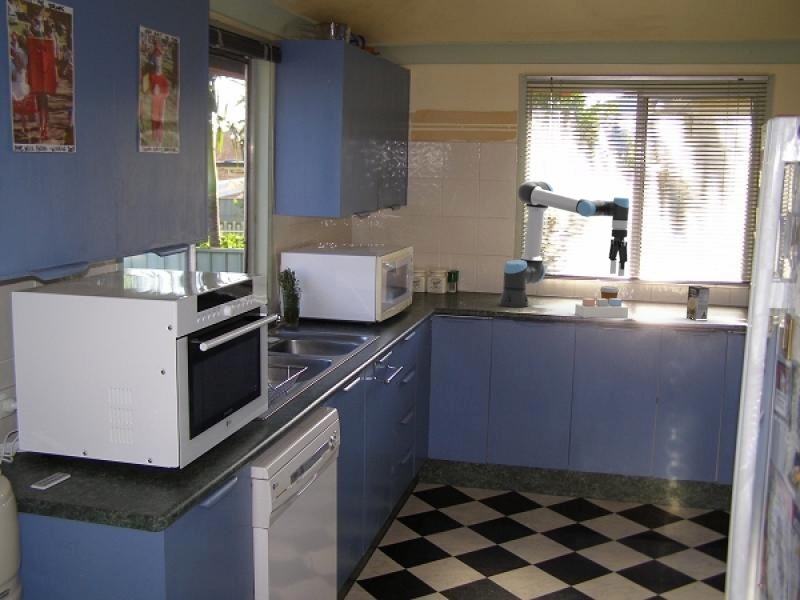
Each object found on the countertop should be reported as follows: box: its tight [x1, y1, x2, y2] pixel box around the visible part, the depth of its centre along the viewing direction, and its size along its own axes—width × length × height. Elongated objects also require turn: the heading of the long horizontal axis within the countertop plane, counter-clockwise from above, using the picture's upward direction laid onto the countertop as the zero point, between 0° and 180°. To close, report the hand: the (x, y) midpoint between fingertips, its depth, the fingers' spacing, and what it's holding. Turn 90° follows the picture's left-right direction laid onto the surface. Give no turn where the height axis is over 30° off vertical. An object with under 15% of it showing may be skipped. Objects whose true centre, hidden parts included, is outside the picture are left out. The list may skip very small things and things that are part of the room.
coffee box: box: [685, 285, 711, 320], centre depth 449 cm, size 9×6×16 cm
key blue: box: [609, 297, 622, 306], centre depth 454 cm, size 5×5×6 cm
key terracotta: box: [581, 297, 596, 307], centre depth 451 cm, size 5×5×6 cm
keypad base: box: [574, 303, 629, 319], centre depth 453 cm, size 11×23×5 cm, turn 102°
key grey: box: [595, 297, 608, 307], centre depth 452 cm, size 5×5×6 cm
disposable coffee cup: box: [599, 285, 620, 304], centre depth 470 cm, size 10×10×12 cm
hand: (616, 274), depth 451 cm, fingers open, 9 cm apart
